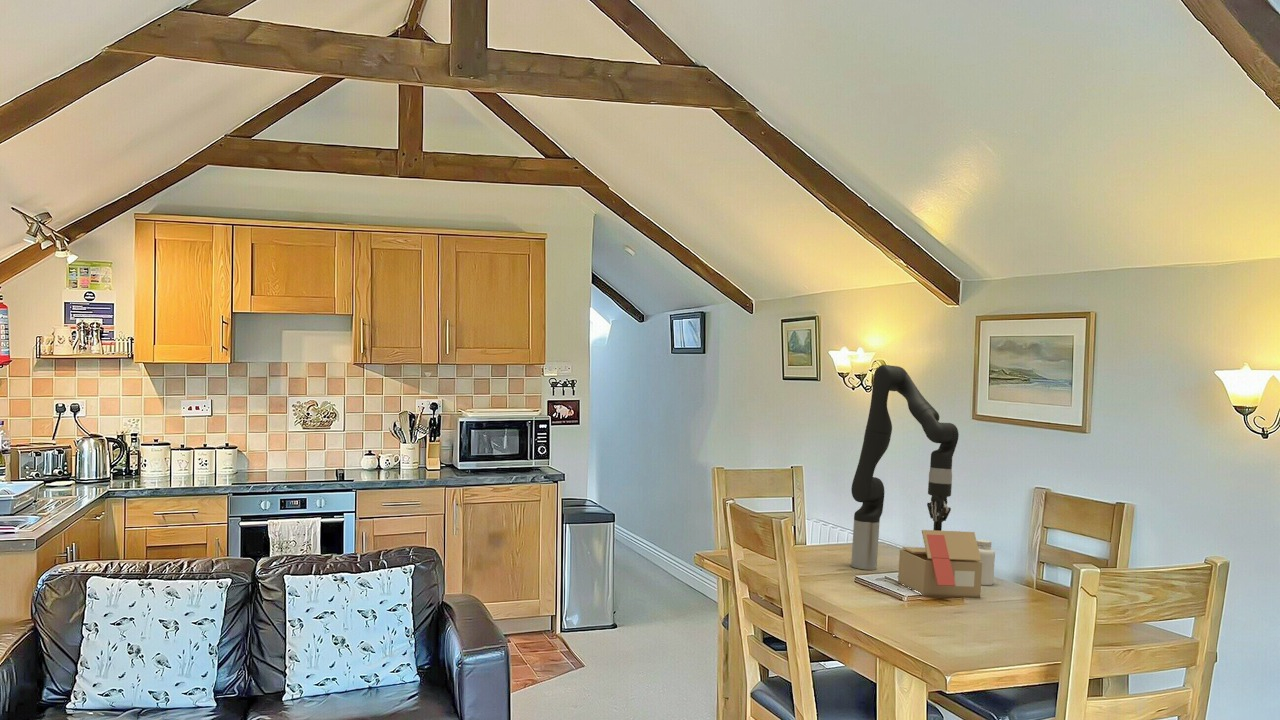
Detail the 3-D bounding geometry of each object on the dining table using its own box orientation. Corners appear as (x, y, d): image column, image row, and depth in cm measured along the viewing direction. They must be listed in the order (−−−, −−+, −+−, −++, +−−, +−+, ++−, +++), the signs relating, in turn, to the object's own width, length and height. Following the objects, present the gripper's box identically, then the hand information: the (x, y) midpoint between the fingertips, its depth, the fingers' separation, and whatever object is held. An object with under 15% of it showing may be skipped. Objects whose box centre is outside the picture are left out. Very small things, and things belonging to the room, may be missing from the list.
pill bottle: (968, 583, 339) (971, 540, 340) (969, 579, 347) (972, 537, 347) (992, 586, 336) (995, 543, 337) (993, 582, 344) (996, 540, 344)
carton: (897, 582, 332) (900, 546, 332) (952, 584, 335) (954, 548, 336) (923, 595, 313) (925, 557, 314) (980, 597, 317) (982, 559, 317)
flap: (921, 530, 319) (922, 529, 318) (973, 532, 322) (974, 531, 321) (933, 585, 308) (934, 584, 308) (987, 587, 311) (988, 586, 311)
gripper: (960, 484, 322) (957, 536, 322) (941, 479, 335) (938, 530, 335) (939, 483, 321) (936, 535, 321) (920, 478, 334) (918, 529, 334)
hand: (937, 532), depth 328 cm, fingers closed
